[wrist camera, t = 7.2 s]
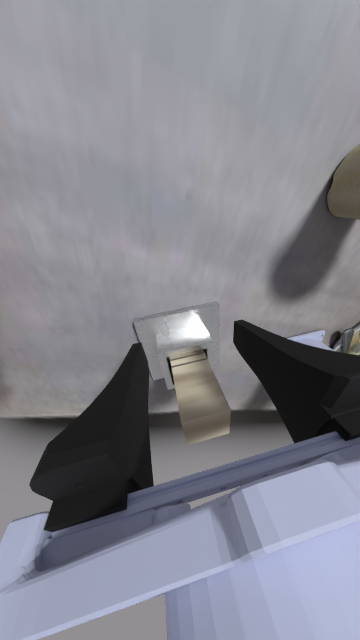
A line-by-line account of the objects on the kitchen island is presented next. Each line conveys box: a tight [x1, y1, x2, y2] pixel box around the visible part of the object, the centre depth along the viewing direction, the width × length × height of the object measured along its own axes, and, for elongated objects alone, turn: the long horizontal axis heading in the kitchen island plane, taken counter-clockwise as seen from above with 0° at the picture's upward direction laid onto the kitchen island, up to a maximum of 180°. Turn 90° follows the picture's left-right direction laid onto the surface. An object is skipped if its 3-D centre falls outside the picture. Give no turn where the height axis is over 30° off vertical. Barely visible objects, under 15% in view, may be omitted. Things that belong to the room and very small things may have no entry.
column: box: [169, 349, 231, 445], centre depth 17 cm, size 4×4×9 cm
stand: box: [133, 302, 219, 390], centre depth 21 cm, size 11×11×5 cm
